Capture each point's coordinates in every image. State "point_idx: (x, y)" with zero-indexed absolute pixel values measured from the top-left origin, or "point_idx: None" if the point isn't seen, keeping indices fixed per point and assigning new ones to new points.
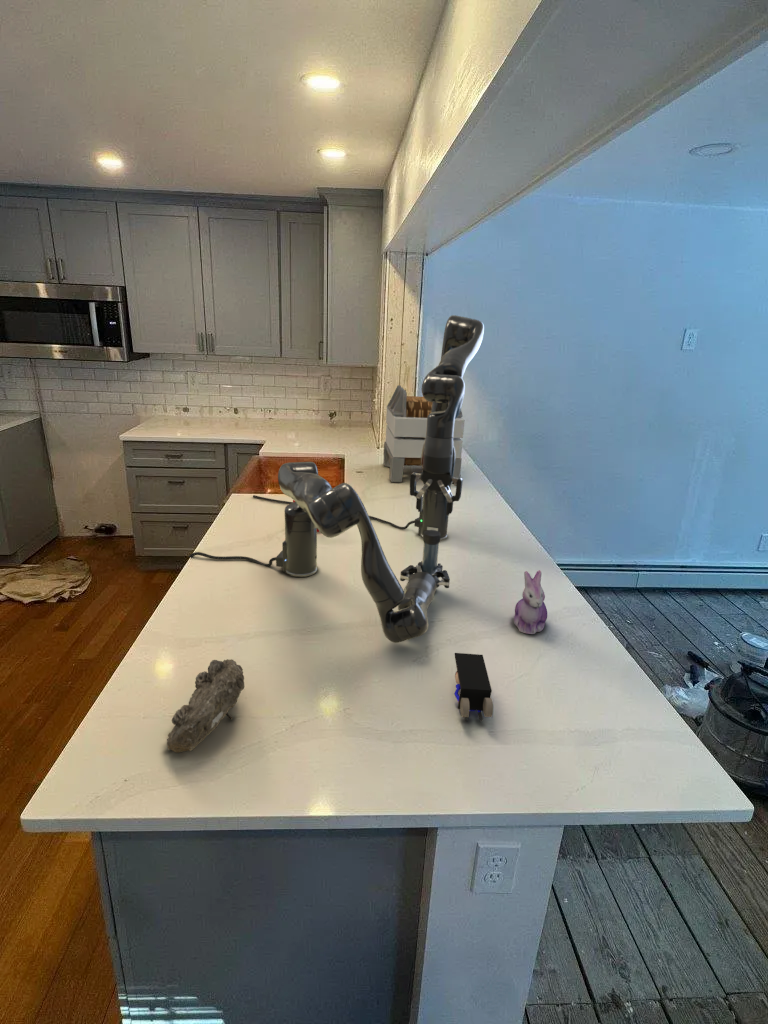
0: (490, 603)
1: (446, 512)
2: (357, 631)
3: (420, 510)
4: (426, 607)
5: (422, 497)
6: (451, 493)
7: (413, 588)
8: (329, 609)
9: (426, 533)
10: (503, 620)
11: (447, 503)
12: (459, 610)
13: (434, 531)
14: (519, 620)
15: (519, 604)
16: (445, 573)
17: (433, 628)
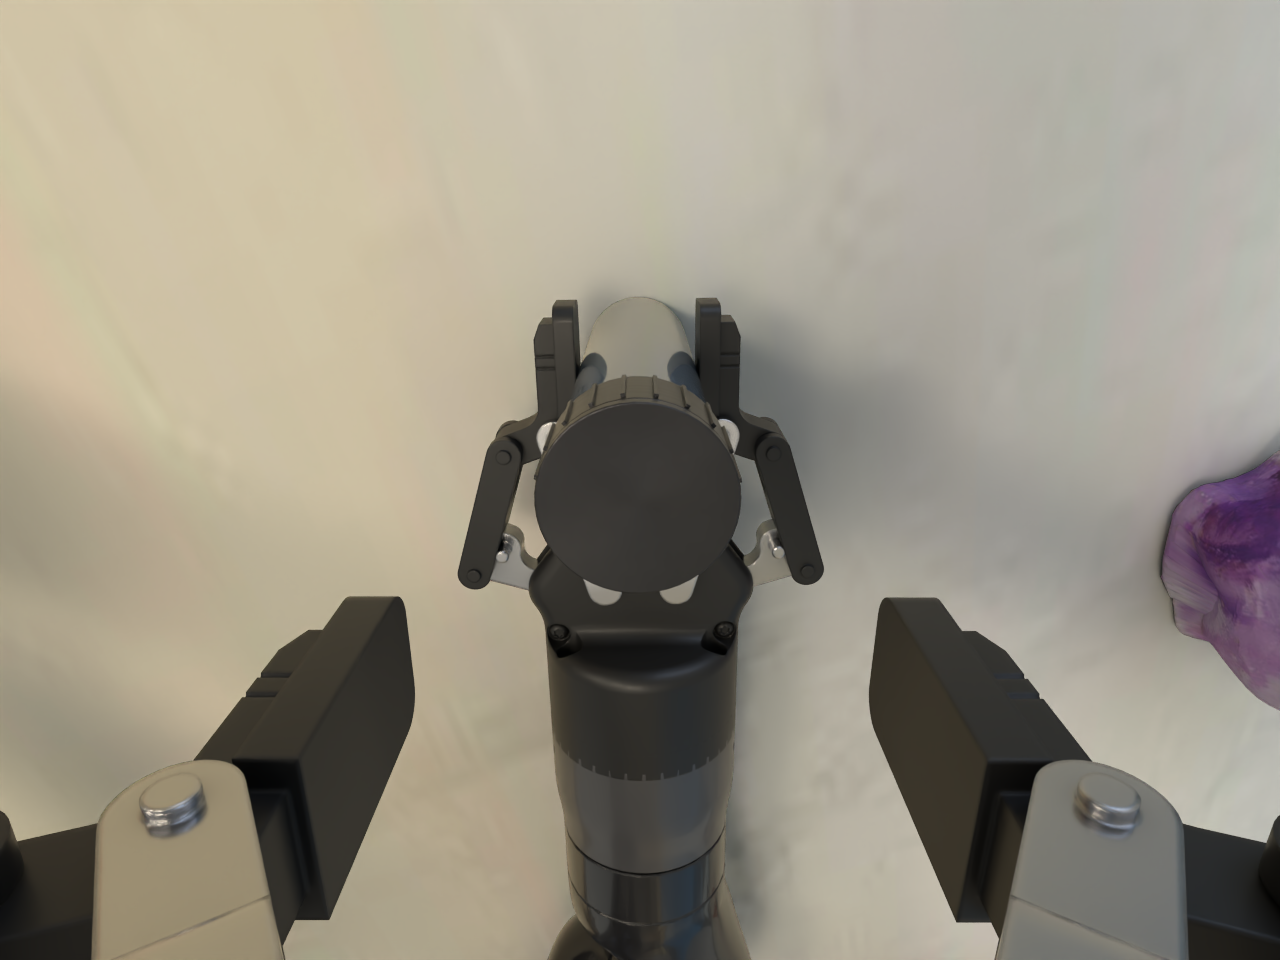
0: (1047, 375)
1: (888, 753)
2: (419, 833)
3: (405, 736)
4: (724, 892)
5: (298, 792)
6: (1180, 956)
7: (629, 882)
8: (205, 718)
9: (576, 542)
10: (1103, 542)
11: (961, 907)
12: (858, 518)
13: (656, 443)
14: (1206, 635)
15: (1260, 611)
16: (783, 490)
17: (742, 718)
